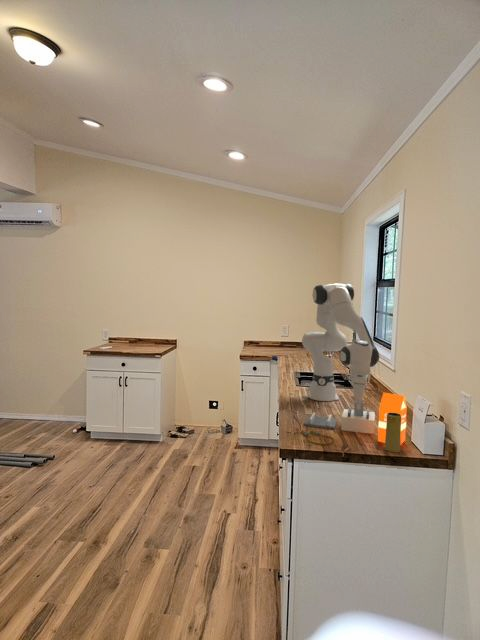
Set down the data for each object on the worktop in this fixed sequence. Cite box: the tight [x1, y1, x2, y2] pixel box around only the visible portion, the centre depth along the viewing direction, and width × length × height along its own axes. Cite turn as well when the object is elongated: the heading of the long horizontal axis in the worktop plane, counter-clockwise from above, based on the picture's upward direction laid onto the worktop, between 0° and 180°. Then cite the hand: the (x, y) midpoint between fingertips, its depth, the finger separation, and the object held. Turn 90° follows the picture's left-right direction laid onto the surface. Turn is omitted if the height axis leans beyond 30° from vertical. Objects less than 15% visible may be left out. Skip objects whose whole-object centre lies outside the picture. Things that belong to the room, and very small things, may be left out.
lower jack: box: [303, 411, 338, 430], centre depth 197 cm, size 14×14×3 cm
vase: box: [383, 412, 402, 453], centre depth 164 cm, size 6×6×14 cm
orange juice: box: [377, 392, 408, 445], centre depth 174 cm, size 8×9×20 cm
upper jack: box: [340, 405, 376, 435], centre depth 192 cm, size 14×14×8 cm
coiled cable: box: [300, 429, 335, 446], centre depth 176 cm, size 12×16×2 cm
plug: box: [353, 400, 365, 416], centre depth 191 cm, size 4×4×6 cm
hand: (358, 406), depth 191 cm, fingers open, 8 cm apart
